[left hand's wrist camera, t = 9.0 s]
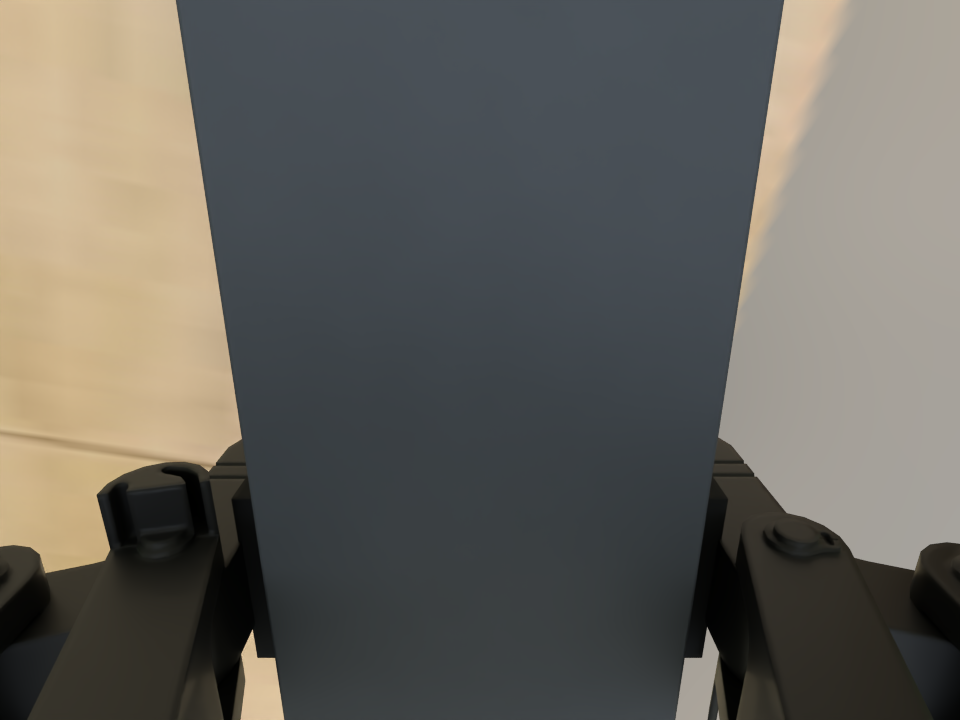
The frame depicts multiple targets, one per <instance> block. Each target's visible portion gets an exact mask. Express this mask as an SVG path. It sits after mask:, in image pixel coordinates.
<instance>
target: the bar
mask: <svg viewBox="0 0 960 720" xmlns="http://www.w3.org/2000/svg"><path fill="white" fill-rule="evenodd" d="M176 4H177V10H178V17H179V24H180V30H181V37H182V44H183V50H184V57H185V63H186V70H187V77H188V83H189V90H190V97H191V103H192V110H193V116H194V123H195V130H196V136H197V143H198V150H199V156H200V163H201V170H202V176H203V183H204V189H205V196H206V203H207V209H208V216H209V223H210V229H211V236H212V242H213V249H214V256H215V262H216V269H217V276H218V282H219V289H220V295H221V302H222V309H223V315H224V322H225V329H226V335H227V342H228V349H229V355H230V362H231V368H232V375H233V382H234V388H235V395H236V402H237V408H238V415H239V421H240V428H241V435H242V441H243V448H244V455H245V461H246V468H247V474H248V481H249V488H250V494H251V501H252V508H253V514H254V521H255V528H256V534H257V541H258V547H259V554H260V561H261V567H262V574H263V581H264V587H265V594H266V600H267V607H268V614H269V620H270V627H271V634H272V640H273V647H274V653H275V660H276V667H277V673H278V680H279V687H280V693H281V700H282V707H283V713H284V720H675V718H676V711H677V704H678V698H679V691H680V684H681V678H682V671H683V665H684V658H685V652H686V645H687V638H688V632H689V625H690V619H691V612H692V605H693V599H694V592H695V586H696V579H697V572H698V566H699V559H700V553H701V546H702V539H703V533H704V526H705V519H706V513H707V506H708V500H709V493H710V486H711V480H712V473H713V467H714V460H715V453H716V447H717V440H718V433H719V427H720V420H721V414H722V407H723V401H724V394H725V387H726V381H727V374H728V367H729V361H730V354H731V348H732V341H733V334H734V328H735V321H736V315H737V308H738V301H739V295H740V288H741V282H742V275H743V268H744V262H745V255H746V249H747V242H748V235H749V229H750V222H751V215H752V209H753V202H754V196H755V189H756V182H757V176H758V169H759V163H760V156H761V149H762V143H763V136H764V130H765V123H766V116H767V110H768V103H769V96H770V90H771V83H772V77H773V70H774V63H775V57H776V50H777V44H778V37H779V30H780V24H781V17H782V11H783V4H784V0H176Z"/></svg>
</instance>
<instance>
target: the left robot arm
mask: <svg viewBox="0 0 960 720" xmlns="http://www.w3.org/2000/svg"><path fill="white" fill-rule="evenodd" d="M97 498H98V502H99V506H100V510H101V514H102V518H103V522H104V526H105V530H106V533H107V537H108V541H109V545H110V549H111V550H110V552H109V554H108V556H107V558H106V560H105V561H102V562H98V563H94V564H90V565H85V566H80V567H75V568H70V569H65V570H60V571H55V572H50V573H45V571H44V568H43V564H42V561H41V558H40V554H38V553H37V552H36V551H34V550H33V549H32V548H30V547H23V546H16V545H11V546H3V547H0V720H240V719H241V711H242V703H243V695H244V687H245V675H244V668H243V662H242V657H241V653H242V651H243V649H244V646H245V644H246V642H247V640H248V638H249V636H250V633H251V631H252V629H253V633H254V639H255V645H256V651H257V657H258V658H275V653H274V647H273V640H272V634H271V627H270V620H269V614H268V607H267V600H266V594H265V587H264V581H263V574H262V567H261V561H260V554H259V547H258V541H257V534H256V528H255V521H254V514H253V508H252V501H251V494H250V488H249V481H248V474H247V468H246V461H245V455H244V448H243V441H242V440H240V441H238V442H237V443H235V444H233V445H232V446H230V447H229V448H228V449H227V450H226V451H225V452H224V454H223V455H222V456H221V457H220V459H219V460H218V461H217V462H216V466H213V467H212V469H211V470H210V471H209V472H208V471H207V470H206V469H204V468H203V467H202V466H200V465H197V464H192V463H187V462H167V463H161V464H156V465H151V466H146V467H142V468H140V469H137V470H134V471H131V472H129V473H126V474H124V475H122V476H120V477H118V478H117V479H115V480H113V481H111V482H110V483H108V484H107V485H106V486H105V487H104V488H103V489H102V490H101V491H100V492H99V493H98V494H97ZM707 627H708V629H709V631H710V634H711V636H712V638H713V640H714V642H715V644H716V647H717V649H718V651H719V657H718V662H717V668H716V674H715V679H714V685H713V691H712V696H711V702H710V707H709V714H708V720H716V719H717V713H718V710H719V718H720V720H960V544H956V543H947V542H946V543H939V544H931V545H929V546H927V547H926V548H925V549H923V550H922V551H921V553H920V556H919V559H918V562H917V566H916V569H915V571H914V570H909V569H904V568H899V567H894V566H889V565H884V564H879V563H874V562H868V561H864V560H860V559H857V558H854V557H853V555H852V553H851V551H850V549H849V547H848V546H847V545H846V544H845V543H844V541H843V540H842V539H841V537H840V536H838V535H837V534H835V533H834V532H832V531H831V530H829V529H828V528H827V527H825V526H823V525H821V524H819V523H817V522H814V521H812V520H809V519H807V518H805V517H801V516H796V515H792V514H788V513H786V512H785V511H784V509H783V508H782V507H781V506H780V505H779V503H778V502H777V501H776V500H775V498H774V497H773V496H772V495H771V494H770V492H769V491H768V490H767V489H766V487H765V486H764V485H763V484H762V482H761V481H760V480H759V479H758V478H757V477H754V473H753V472H752V470H751V469H750V468H749V467H748V465H747V464H744V460H743V459H742V458H741V457H740V456H739V454H738V453H737V452H736V451H735V449H734V448H733V447H732V446H731V445H730V444H728V443H726V442H725V441H723V440H721V439H720V438H718V440H717V447H716V453H715V460H714V467H713V473H712V480H711V486H710V493H709V500H708V506H707V513H706V519H705V526H704V533H703V539H702V546H701V553H700V559H699V566H698V572H697V579H696V586H695V592H694V599H693V605H692V612H691V619H690V625H689V632H688V638H687V645H686V652H685V658H702V654H703V648H704V642H705V636H706V630H707Z"/></svg>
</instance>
